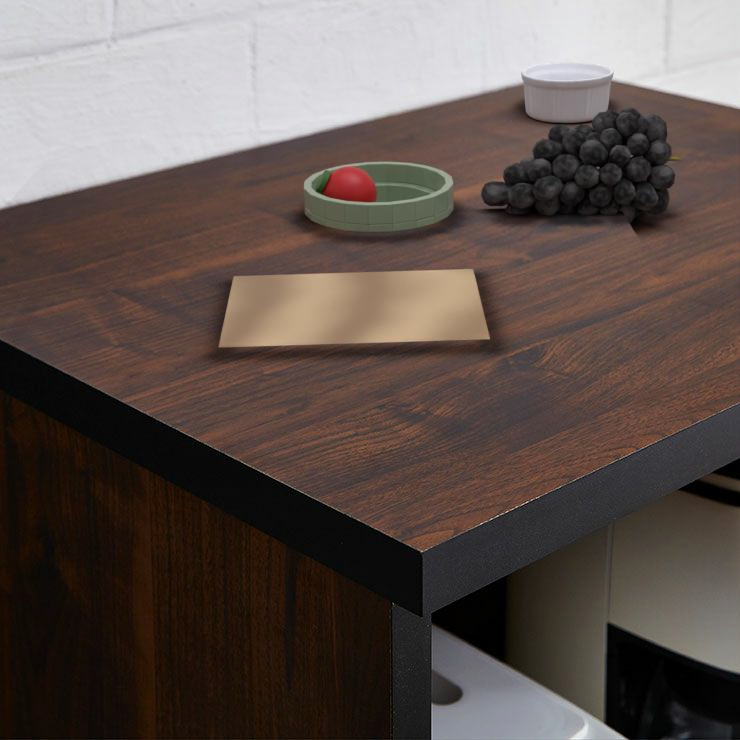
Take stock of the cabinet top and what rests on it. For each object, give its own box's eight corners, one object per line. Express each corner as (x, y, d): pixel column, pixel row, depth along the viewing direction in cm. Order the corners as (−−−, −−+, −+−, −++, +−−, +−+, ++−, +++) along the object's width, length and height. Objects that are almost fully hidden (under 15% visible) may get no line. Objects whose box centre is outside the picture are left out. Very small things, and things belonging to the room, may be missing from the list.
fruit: (486, 116, 98) (689, 98, 100) (464, 126, 107) (652, 109, 108) (496, 238, 99) (697, 218, 101) (473, 238, 108) (660, 220, 109)
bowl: (303, 253, 100) (301, 206, 99) (307, 206, 111) (305, 163, 109) (458, 248, 100) (458, 202, 99) (447, 202, 111) (447, 159, 109)
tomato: (361, 239, 104) (307, 212, 103) (360, 221, 107) (308, 195, 107) (387, 191, 102) (333, 164, 101) (385, 175, 106) (333, 148, 105)
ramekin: (523, 126, 132) (524, 81, 130) (517, 104, 140) (518, 61, 138) (617, 124, 131) (619, 79, 130) (606, 102, 139) (608, 59, 138)
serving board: (219, 370, 82) (217, 346, 81) (234, 296, 93) (233, 275, 92) (490, 361, 82) (490, 338, 81) (473, 289, 93) (473, 268, 92)
